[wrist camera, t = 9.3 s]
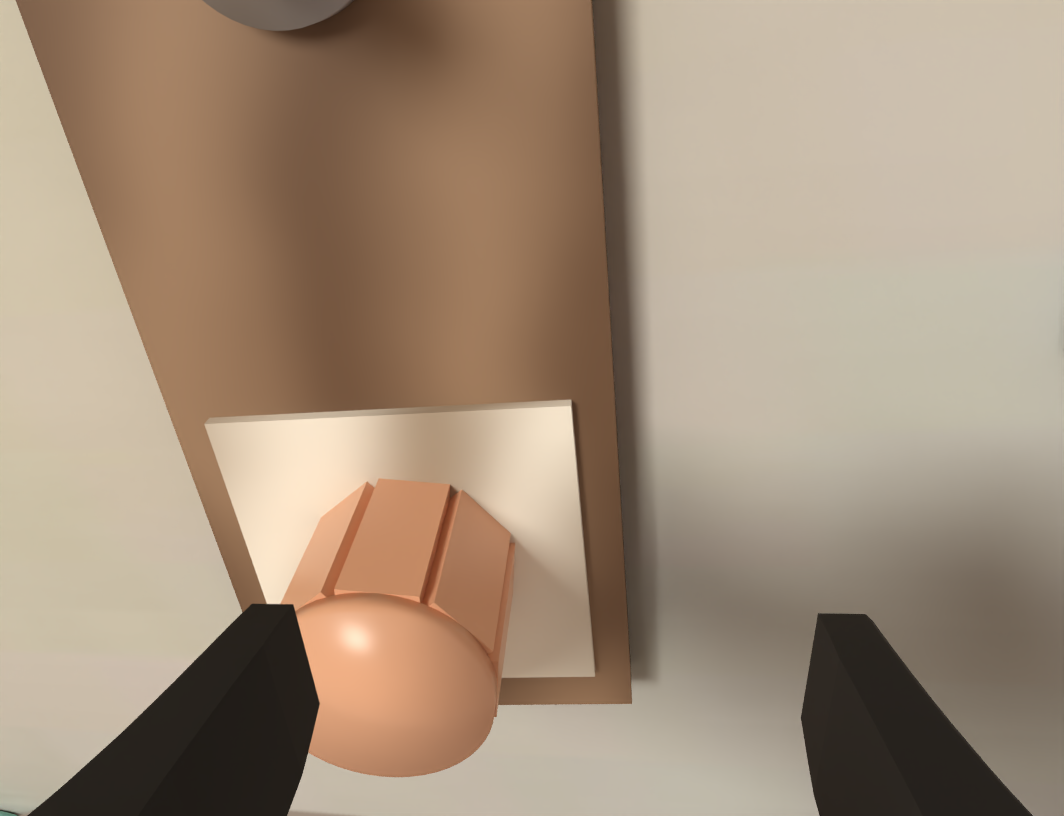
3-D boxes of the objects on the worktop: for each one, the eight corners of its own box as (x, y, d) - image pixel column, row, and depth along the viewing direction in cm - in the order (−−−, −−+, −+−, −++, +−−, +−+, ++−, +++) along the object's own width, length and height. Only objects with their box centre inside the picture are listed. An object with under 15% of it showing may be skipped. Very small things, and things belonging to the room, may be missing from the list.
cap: (517, 489, 21) (497, 624, 17) (510, 639, 23) (491, 786, 19) (311, 472, 21) (243, 602, 17) (327, 623, 24) (272, 765, 20)
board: (551, -703, 12) (491, -1421, 6) (630, 664, 26) (639, 910, 20) (-134, -564, 13) (-829, -1020, 7) (292, 669, 27) (196, 902, 21)
